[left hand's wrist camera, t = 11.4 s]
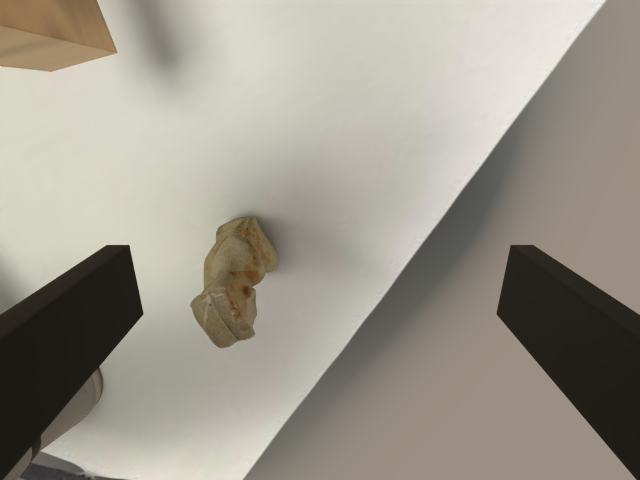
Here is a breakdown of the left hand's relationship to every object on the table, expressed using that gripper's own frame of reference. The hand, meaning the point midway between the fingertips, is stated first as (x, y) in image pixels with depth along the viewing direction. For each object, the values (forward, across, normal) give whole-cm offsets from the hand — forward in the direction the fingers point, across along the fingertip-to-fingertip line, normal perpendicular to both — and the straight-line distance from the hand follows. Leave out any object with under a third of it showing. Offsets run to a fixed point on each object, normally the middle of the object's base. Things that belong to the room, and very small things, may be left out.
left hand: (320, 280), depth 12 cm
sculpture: (+26, +8, +9) cm, 29 cm away
